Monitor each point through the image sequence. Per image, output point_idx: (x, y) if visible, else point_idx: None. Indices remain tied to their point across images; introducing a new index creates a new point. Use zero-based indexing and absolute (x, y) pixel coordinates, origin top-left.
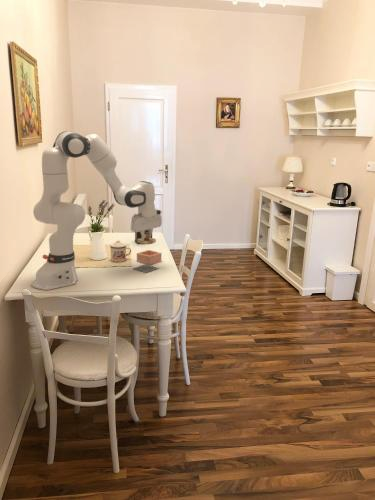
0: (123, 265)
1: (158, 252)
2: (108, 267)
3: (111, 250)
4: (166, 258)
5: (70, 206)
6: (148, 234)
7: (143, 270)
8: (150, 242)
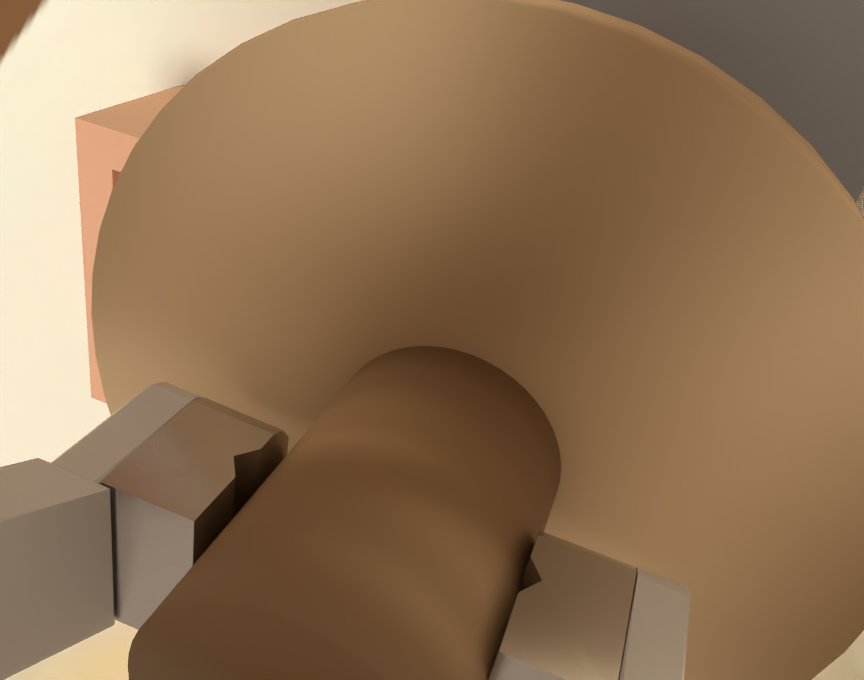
0: None
1: (92, 185)
2: (855, 670)
3: None
4: (33, 84)
5: None
6: (333, 547)
7: (846, 96)
8: (743, 102)
